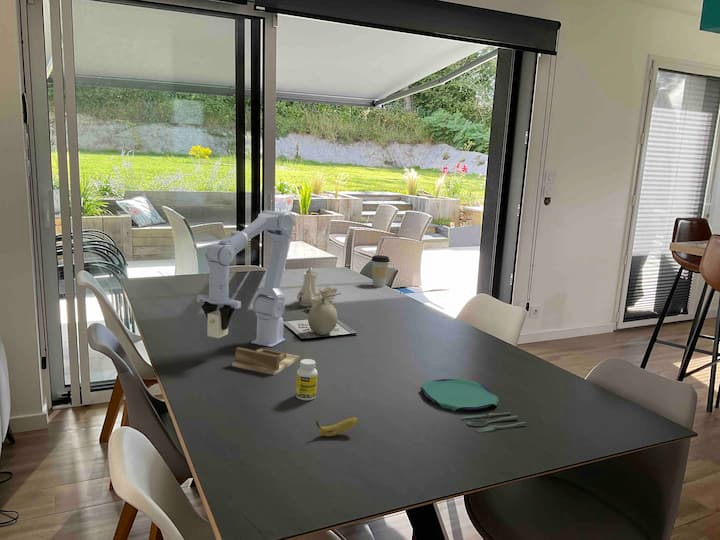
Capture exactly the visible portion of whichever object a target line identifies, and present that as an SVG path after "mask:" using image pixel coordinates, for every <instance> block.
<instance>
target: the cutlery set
mask: <svg viewBox="0 0 720 540" xmlns="http://www.w3.org/2000/svg"><path fill="white" fill-rule="evenodd" d="M420 390H421V391H422V394H423V395H424V396H425V397H426V398H427V399H429V400H430V401H431V402H433V403H435V404H437V405H439V406H440V407H442V409H447V410H451V411H453V412H455V411H456V410H462V411H463V410H464V411H477V410H482V409H487V408H489V407H491V406H493V405H495V408H496V407H497V405H498V404H499V397H498V396H497V395H496V394H495V393H494V392H493V391H492V390H491V389H490V388H488V387H486V386H484V385H482V384H481V383H479V382H477V381H476V382H475V381H474V380H473V381H472V380H467V379H464V378H441V379H434V380H428V381H425V383H424V384H423V385H422V386H420ZM501 415H502V416H503V415H510V416H505V417H501V418H496V419H492V420H486V419H481V418H494V417H495V416H501ZM511 415H512V413H511V411H508V412H503V413H500V412H498V413H492V412H489V413H487V412H485V414H477V415H469V416H463V417H461V420H462V421H464V420H468V421H467V422H466V424H467V425H468V426H471V427H476V428H473V431H474V432H476V433H477V434H478V433H487V432H488V433H489V432H495V431H497V430H498V429H512V428H518V427H525V426H526V427H527V422H526V421H521V422H516V423H511V424H507V425H506V424H505V425H496V424H494V425H492V424H491V423H497V422H498V423H499V422H502V421H511V420H519V416H518V415H512V416H511ZM478 422H479V423H484V424H481V425H473V423H478ZM488 424H489V425H488ZM487 425H488V426H487ZM477 427H480V428H477Z"/></svg>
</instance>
